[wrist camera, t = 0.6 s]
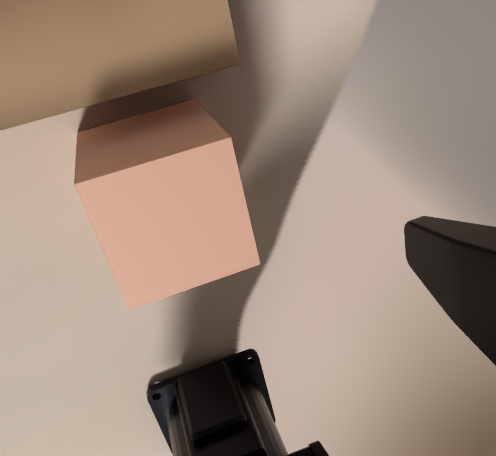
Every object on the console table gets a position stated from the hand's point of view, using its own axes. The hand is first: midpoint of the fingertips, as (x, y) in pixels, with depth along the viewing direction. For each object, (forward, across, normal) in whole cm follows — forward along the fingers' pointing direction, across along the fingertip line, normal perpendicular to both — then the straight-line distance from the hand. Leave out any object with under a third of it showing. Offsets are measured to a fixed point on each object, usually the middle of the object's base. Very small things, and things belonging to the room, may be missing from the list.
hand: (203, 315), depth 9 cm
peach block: (+13, 0, +1) cm, 13 cm away
